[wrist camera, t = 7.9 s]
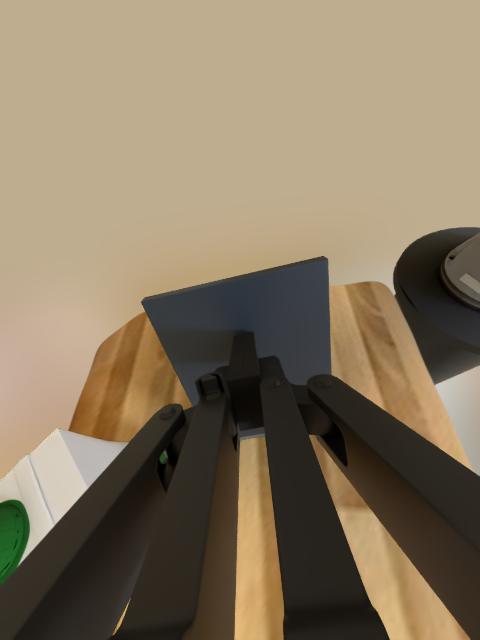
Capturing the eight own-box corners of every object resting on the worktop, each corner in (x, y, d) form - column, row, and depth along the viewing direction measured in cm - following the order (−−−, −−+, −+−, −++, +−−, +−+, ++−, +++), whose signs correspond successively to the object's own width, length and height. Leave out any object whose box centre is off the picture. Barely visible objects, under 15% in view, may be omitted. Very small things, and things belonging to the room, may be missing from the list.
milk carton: (115, 484, 31) (-91, 526, 14) (163, 430, 34) (37, 410, 17) (149, 544, 27) (-80, 703, 10) (201, 478, 30) (87, 516, 13)
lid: (144, 297, 16) (140, 302, 15) (323, 255, 15) (328, 258, 14) (211, 435, 24) (210, 443, 23) (329, 415, 23) (332, 421, 22)
